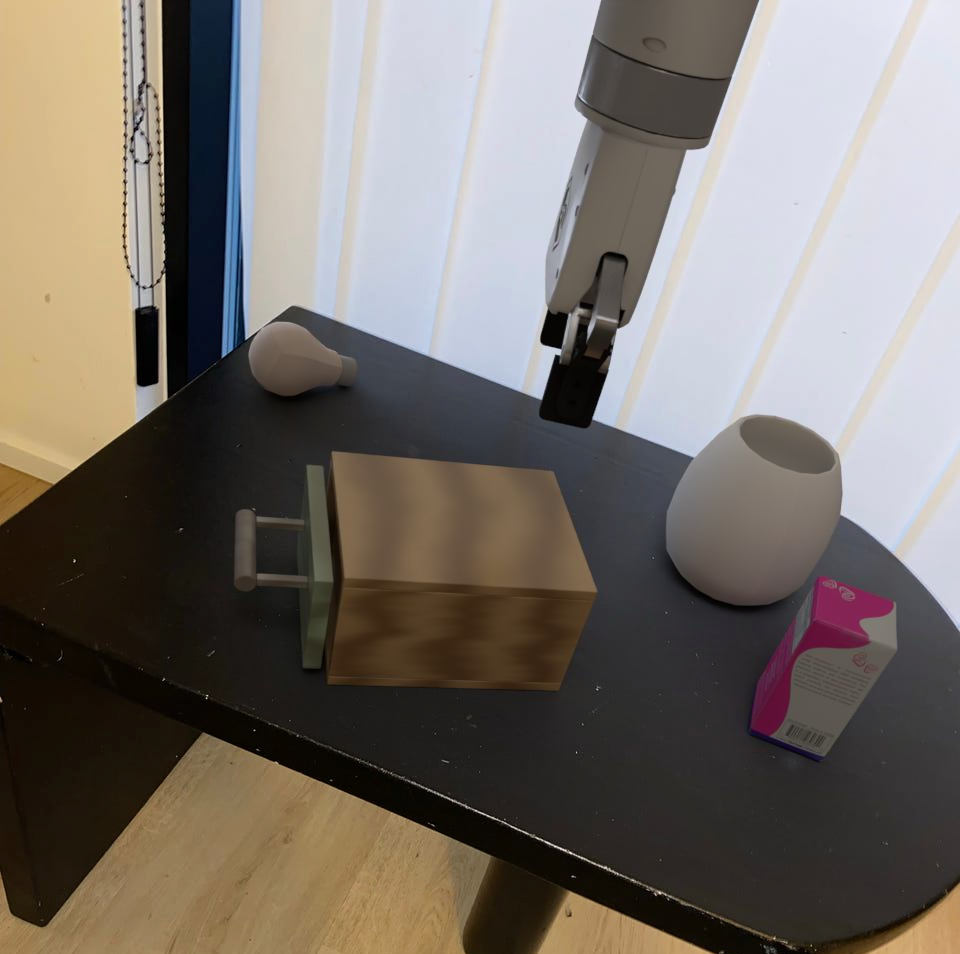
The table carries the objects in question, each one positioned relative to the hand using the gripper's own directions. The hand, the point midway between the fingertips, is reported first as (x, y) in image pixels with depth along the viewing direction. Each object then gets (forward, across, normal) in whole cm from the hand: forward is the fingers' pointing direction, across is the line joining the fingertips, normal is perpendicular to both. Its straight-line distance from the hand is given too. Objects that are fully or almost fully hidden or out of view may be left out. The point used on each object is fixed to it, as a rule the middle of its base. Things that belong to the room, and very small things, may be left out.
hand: (562, 382), depth 63 cm
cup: (+20, -10, +20) cm, 30 cm away
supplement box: (+20, +7, +23) cm, 31 cm away
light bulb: (+20, -25, -20) cm, 37 cm away
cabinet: (+19, +3, -4) cm, 20 cm away
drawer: (+18, +4, -9) cm, 21 cm away
